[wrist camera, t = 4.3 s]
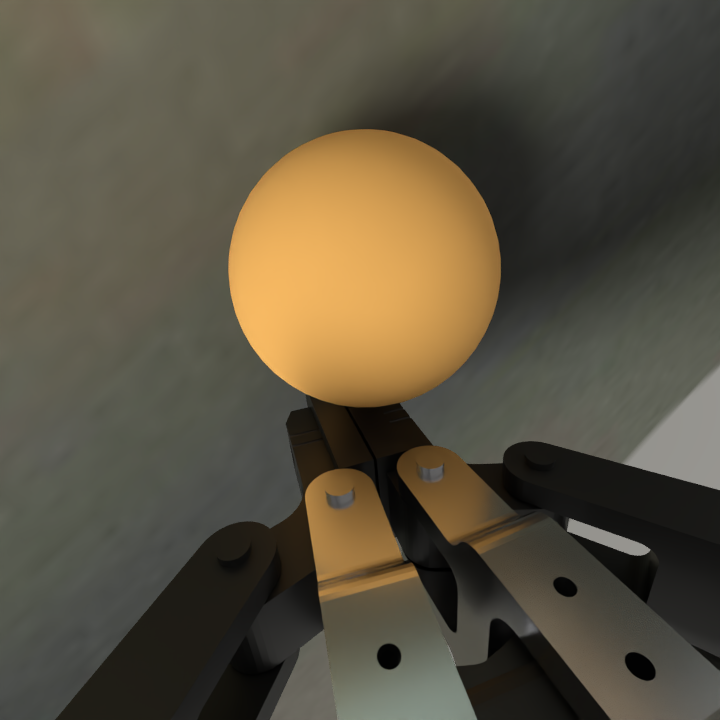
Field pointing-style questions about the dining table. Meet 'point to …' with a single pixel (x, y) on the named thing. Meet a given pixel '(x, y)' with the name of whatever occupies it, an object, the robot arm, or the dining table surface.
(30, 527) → the dining table surface
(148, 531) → the dining table surface
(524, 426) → the dining table surface
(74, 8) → the dining table surface
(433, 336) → the ball
